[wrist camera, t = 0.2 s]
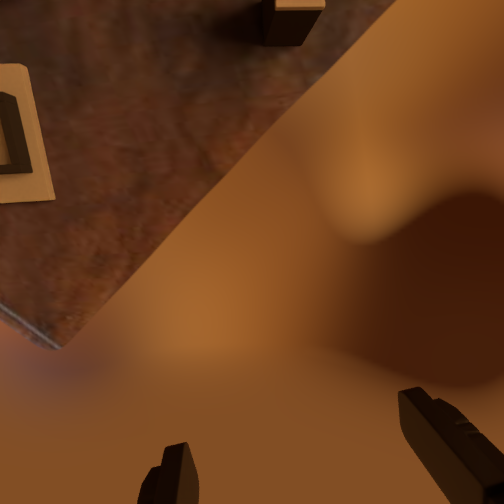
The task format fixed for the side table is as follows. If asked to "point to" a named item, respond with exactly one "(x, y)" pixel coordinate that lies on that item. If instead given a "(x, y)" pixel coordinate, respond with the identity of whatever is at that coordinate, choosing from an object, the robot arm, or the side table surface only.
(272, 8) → the tan rectangular block
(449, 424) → the robot arm
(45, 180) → the base pad
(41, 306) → the side table surface
